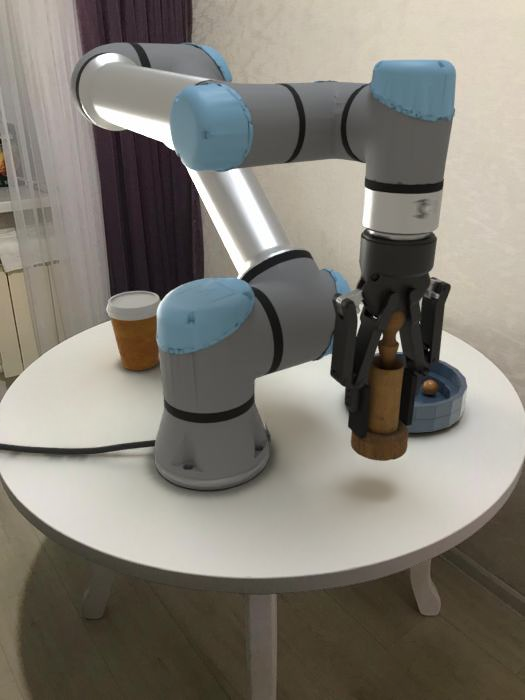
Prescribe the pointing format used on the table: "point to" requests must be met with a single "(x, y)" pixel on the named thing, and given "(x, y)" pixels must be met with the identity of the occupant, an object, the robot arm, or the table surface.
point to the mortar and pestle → (385, 401)
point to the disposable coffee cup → (135, 328)
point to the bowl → (438, 398)
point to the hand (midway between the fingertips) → (379, 425)
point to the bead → (429, 387)
